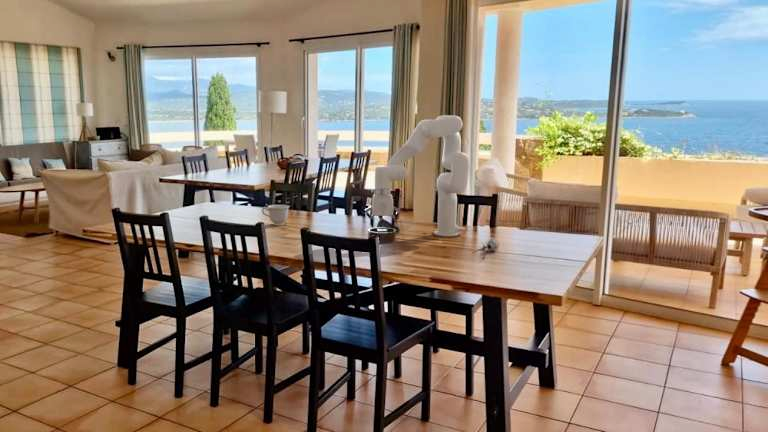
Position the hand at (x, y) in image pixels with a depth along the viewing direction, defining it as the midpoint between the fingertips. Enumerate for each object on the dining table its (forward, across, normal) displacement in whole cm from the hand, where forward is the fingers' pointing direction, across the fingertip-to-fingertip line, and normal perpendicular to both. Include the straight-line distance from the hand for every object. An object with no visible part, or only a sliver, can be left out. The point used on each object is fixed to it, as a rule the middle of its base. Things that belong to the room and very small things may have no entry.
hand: (382, 227), depth 279 cm
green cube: (+6, 0, 0) cm, 6 cm away
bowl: (+6, 0, 0) cm, 7 cm away
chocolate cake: (+7, +5, +20) cm, 22 cm away
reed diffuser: (+7, +44, -29) cm, 53 cm away
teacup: (+6, -55, +39) cm, 68 cm away
